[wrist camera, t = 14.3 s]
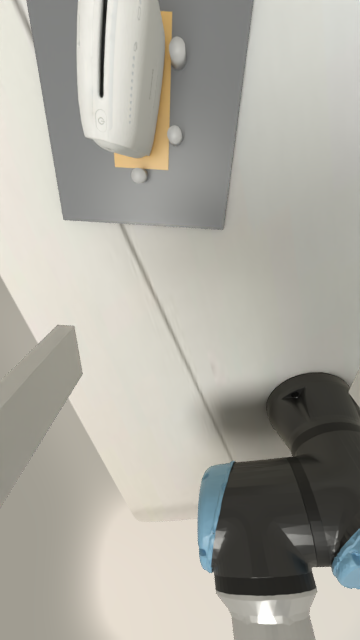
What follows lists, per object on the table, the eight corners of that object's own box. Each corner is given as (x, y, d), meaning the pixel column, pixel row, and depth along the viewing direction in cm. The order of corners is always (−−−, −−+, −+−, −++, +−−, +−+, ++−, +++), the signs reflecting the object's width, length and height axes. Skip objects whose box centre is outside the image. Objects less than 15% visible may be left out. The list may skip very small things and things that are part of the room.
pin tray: (262, -84, 20) (275, -134, 17) (222, 228, 32) (225, 233, 29) (17, -95, 20) (-16, -146, 17) (67, 218, 32) (53, 223, 29)
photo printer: (153, 164, 28) (128, 154, 17) (114, 154, 27) (64, 138, 17) (171, 33, 23) (152, -97, 12) (124, 19, 22) (61, -127, 12)
